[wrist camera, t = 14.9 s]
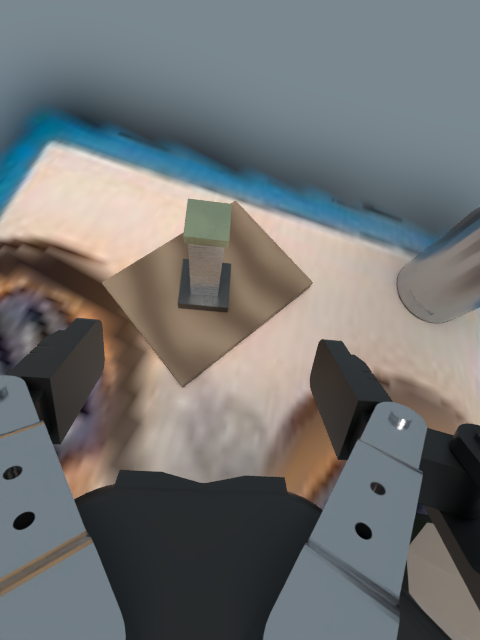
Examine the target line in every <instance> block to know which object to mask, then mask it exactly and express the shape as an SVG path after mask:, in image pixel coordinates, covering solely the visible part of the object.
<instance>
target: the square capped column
mask: <svg viewBox="0 0 480 640" xmlns="http://www.w3.org/2000/svg"><path fill="white" fill-rule="evenodd" d="M231 209H232V204H228V203H219V202H211V201H203V200H195V199H188V203H187V211H186V219H185V227H184V234H183V239H184V243H186V244H188V251H189V259H183V265H182V273H181V281H180V289H179V297H178V308H182V309H193V310H204V311H215V312H226V313H227V312H228V307H229V292H230V276H231V264H230V263H222V261H223V254H224V248H228V246H229V238H230V224H231Z"/></svg>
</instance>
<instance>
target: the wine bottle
mask: <svg viewBox="0 0 480 640" xmlns="http://www.w3.org/2000/svg"><path fill="white" fill-rule="evenodd" d="M401 588H402V589H403V590H404V591H405V592H406V593H407V594H408V595H409V596H410V597H411V598H412V599H413V600H414V601H415V603H416V604H417V605H418V606H419V607H420V608H421V609H422V610H423V611H424V612H425V613H426V614H427V615H428V616H429V617H430V618H431V619H432V620H433V621H434V622H435V623H436V624H437V625H438V626H439V627H440V628H441V629H442V630H443V631H444V632H445V633H446V634H447V635H448V636H449V637H450V638H451V639H452V640H480V611H479V609H478V607H477V605H476V603H475V602H474V600H473V598H472V596H471V594H470V592H469V590H468V588H467V586H466V584H465V583H464V581H463V579H462V577H461V575H460V573H459V571H458V569H457V567H456V565H455V564H454V562H453V560H452V558H451V556H450V554H449V552H448V550H447V548H446V547H445V545H444V543H443V541H442V539H441V537H440V535H439V533H438V531H437V529H436V528H435V526H434V524H433V522H432V520H431V518H430V516H429V515H422V514H415V519H414V524H413V529H412V534H411V539H410V545H409V550H408V555H407V560H406V565H405V571H404V576H403V581H402V586H401Z"/></svg>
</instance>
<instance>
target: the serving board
mask: <svg viewBox="0 0 480 640" xmlns="http://www.w3.org/2000/svg"><path fill="white" fill-rule="evenodd" d="M231 204H232V209H231V224H230V238H229V246H228V248H224V254H223V261H222V263H230V264H231V276H230V292H229V307H228V312H227V313H226V312H215V311H204V310H193V309H182V308H178V297H179V289H180V281H181V273H182V265H183V259H189V251H188V244H186V243H184V239H183V234H184V233H182V234H181V235H179V236H177V237H176V238H174V239H172V240H171V241H169V242H167V243H166V244H164V245H163V246H161V247H159V248H158V249H156V250H154V251H153V252H151V253H150V254H148V255H146V256H145V257H143V258H141V259H140V260H138V261H136V262H135V263H133V264H132V265H130V266H128V267H127V268H125V269H123V270H122V271H120V272H118V273H117V274H115V275H114V276H112V277H110V278H109V279H107V280H105V281H104V282H102V283H103V285H104V287H105V288H106V289H107V291H108V292H109V293H110V295H111V296H112V297H113V298H114V300H115V301H116V302H117V304H118V305H119V306H120V307H121V309H122V310H123V311H124V313H125V314H126V315H127V316H128V318H129V319H130V320H131V322H132V323H133V324H134V325H135V327H136V328H137V329H138V331H139V332H140V333H141V334H142V336H143V337H144V338H145V340H146V341H147V342H148V343H149V345H150V346H151V347H152V349H153V350H154V351H155V352H156V354H157V355H158V356H159V358H160V359H161V360H162V361H163V363H164V364H165V365H166V367H167V368H168V369H169V370H170V372H171V373H172V374H173V376H174V377H175V378H176V379H177V381H178V382H179V383H180V385H181V386H182V387H184V386H185V385H187V384H188V383H189V382H190V381H192V380H193V379H194V378H195V377H197V376H198V375H199V374H201V373H202V372H203V371H204V370H206V369H207V368H208V367H209V366H211V365H212V364H213V363H214V362H216V361H217V360H218V359H219V358H221V357H222V356H223V355H225V354H226V353H227V352H228V351H230V350H231V349H232V348H233V347H235V346H236V345H237V344H238V343H240V342H241V341H242V340H244V339H245V338H246V337H247V336H249V335H250V334H251V333H252V332H254V331H255V330H256V329H257V328H259V327H260V326H261V325H262V324H264V323H265V322H266V321H268V320H269V319H270V318H271V317H273V316H274V315H275V314H276V313H278V312H279V311H280V310H281V309H283V308H284V307H285V306H286V305H288V304H289V303H290V302H292V301H293V300H294V299H295V298H297V297H298V296H299V295H300V294H302V293H303V292H304V291H305V290H307V289H308V288H309V287H310V286H311V284H312V283H313V282H312V281H311V280H310V279H309V278H308V277H307V276H306V275H305V274H304V273H303V272H302V271H301V269H300V268H299V267H298V266H297V265H296V264H295V263H294V262H293V261H292V260H291V259H290V258H289V257H288V256H287V255H286V254H285V252H284V251H283V250H282V249H281V248H280V247H279V246H278V245H277V244H276V243H275V242H274V241H273V240H272V239H271V238H270V237H269V236H268V234H267V233H266V232H265V231H264V230H263V229H262V228H261V227H260V226H259V225H258V224H257V223H256V222H255V221H254V220H253V219H252V218H251V216H250V215H249V214H248V213H247V212H246V211H245V210H244V209H243V208H242V207H241V206H240V205H239V204H238V203H237V202H236V201H234V202H233V203H231Z"/></svg>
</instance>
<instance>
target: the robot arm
mask: <svg viewBox="0 0 480 640" xmlns="http://www.w3.org/2000/svg"><path fill="white" fill-rule="evenodd" d="M397 287H398V292H399V295H400V298H401V300H402V301H403V303H404V305H405V306H406V307H407V308H408V309H409V311H411V312H412V313H413V314H414V315H415V316H417V317H419V318H421V319H422V320H425V321H428V322H432V323H444V322H448V321H450V320H452V319H455V318H457V317H459V316H461V315H463V314H466V313H468V312H470V311H473V310H475V309H477V308H479V307H480V205H479V206H478V207H477V208H475V209H474V210H473V211H472V212H471V213H469V214H468V215H467V216H466V217H464V218H463V219H462V220H461V221H460V222H458V223H457V224H456V225H455V226H453V227H452V228H451V229H450V230H449V231H447V232H446V233H445V234H444V235H442V236H441V237H440V238H439V239H438V240H436V241H435V242H434V243H433V244H431V245H430V246H429V247H428V248H427V249H425V250H424V251H423V252H421V253H420V254H419V255H418V256H417V257H415V258H414V259H413V260H412V261H411V262H409V263H408V264H407V265H406V266H405V267H404V268H403V269H402V270H401V271H400V273H399V276H398V281H397ZM104 361H105V356H104V342H103V328H102V322H101V321H100V320H96V319H85V318H76V319H75V320H74V321H73V322H72V323H71V324H70V325H69V326H68V327H67V329H66V330H65V331H64V330H59V331H57V332H55V333H53V334H51V335H49V336H47V337H45V338H44V339H43V340H42V341H41V342H40V343H39V344H38V345H37V347H35V348H34V349H33V350H32V351H31V352H30V354H28V355H26V356H25V357H24V358H23V359H22V360H21V361H20V362H19V363H18V364H17V365H16V366H15V367H14V368H13V369H12V370H11V371H10V372H9V373H8V374H7V375H6V376H0V640H452V639H451V638H450V637H449V636H448V635H447V634H446V633H445V632H444V631H443V630H442V629H441V628H440V627H439V626H438V625H437V624H436V623H435V622H434V621H433V620H432V619H431V618H430V617H429V616H428V615H427V614H426V613H425V612H424V611H423V610H422V609H421V608H420V607H419V606H418V605H417V604H416V603H415V601H414V600H413V599H412V598H411V597H410V596H409V595H408V594H407V593H406V592H405V591H404V590H403V589H402V588H401V586H402V581H403V576H404V571H405V565H406V560H407V555H408V550H409V545H410V539H411V534H412V529H413V524H414V519H415V514H416V508H417V503H419V504H422V505H424V507H425V509H426V511H427V512H428V514H429V516H430V518H431V520H432V522H433V524H434V526H435V528H436V529H437V531H438V533H439V535H440V537H441V539H442V541H443V543H444V545H445V547H446V548H447V550H448V552H449V554H450V556H451V558H452V560H453V562H454V564H455V565H456V567H457V569H458V571H459V573H460V575H461V577H462V579H463V581H464V583H465V584H466V586H467V588H468V590H469V592H470V594H471V596H472V598H473V600H474V602H475V603H476V605H477V607H478V609H479V611H480V426H479V425H475V424H462V425H460V426H459V427H458V429H457V430H456V432H455V434H454V436H453V435H450V434H446V433H443V432H439V431H436V430H432V429H429V428H427V425H426V423H425V421H424V420H423V418H422V417H421V416H419V414H417V413H416V412H415V411H413V410H412V409H410V408H408V407H406V406H404V405H401V404H398V403H394V402H393V401H392V400H391V398H390V397H389V396H388V394H387V393H386V391H385V390H384V389H383V387H382V386H381V384H380V383H379V382H378V381H377V379H376V377H375V376H374V375H373V374H372V373H371V370H370V369H369V367H368V366H367V365H366V363H365V362H363V361H362V360H361V359H359V358H358V357H357V356H355V355H351V354H350V352H349V351H348V349H347V348H346V346H345V345H344V343H343V342H342V341H335V340H324V339H322V340H320V342H319V344H318V347H317V351H316V355H315V359H314V363H313V367H312V371H311V375H310V388H311V391H312V394H313V397H314V399H315V402H316V404H317V407H318V409H319V412H320V415H321V417H322V420H323V422H324V425H325V428H326V430H327V433H328V435H329V438H330V441H331V443H332V446H333V448H334V451H335V453H336V456H337V459H338V460H348V461H347V463H346V465H345V467H344V469H343V471H342V473H341V475H340V477H339V479H338V481H337V483H336V485H335V487H334V489H333V491H332V493H331V495H330V497H329V499H328V501H327V503H326V505H325V507H324V509H323V510H322V509H321V508H319V507H318V506H316V505H315V504H313V503H312V502H310V501H308V500H307V499H305V498H303V497H301V496H298V495H296V494H294V493H291V492H288V491H287V489H286V483H285V478H284V477H263V476H241V477H236V478H231V479H226V480H221V481H215V482H210V483H199V482H195V481H192V480H188V479H185V478H181V477H178V476H174V475H171V474H167V473H164V472H152V471H129V470H120V471H119V474H118V477H117V480H116V483H115V484H113V485H109V486H105V487H102V488H98V489H96V490H93V491H91V492H88V493H86V494H84V495H82V496H80V497H78V498H76V499H73V496H72V493H71V491H70V488H69V486H68V483H67V480H66V478H65V475H64V473H63V470H62V467H61V465H60V462H59V460H58V457H57V454H56V452H55V449H54V447H53V444H61V442H62V441H63V439H64V437H65V436H66V434H67V432H68V431H69V429H70V427H71V425H72V424H73V422H74V420H75V419H76V417H77V415H78V413H79V412H80V410H81V408H82V407H83V405H84V403H85V402H86V400H87V398H88V396H89V395H90V393H91V391H92V390H93V388H94V386H95V384H96V383H97V381H98V379H99V378H100V376H101V374H102V371H103V368H104Z"/></svg>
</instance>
